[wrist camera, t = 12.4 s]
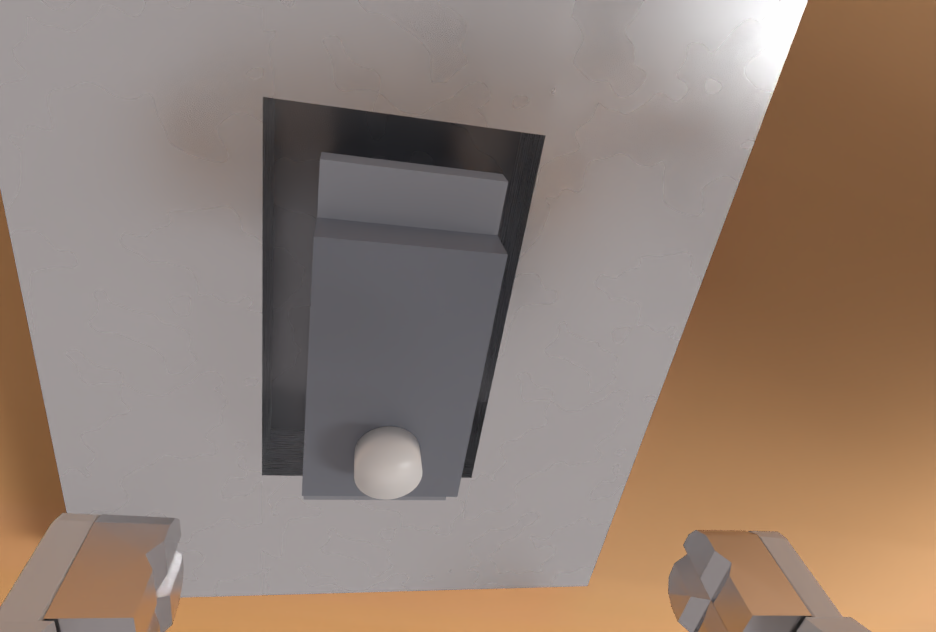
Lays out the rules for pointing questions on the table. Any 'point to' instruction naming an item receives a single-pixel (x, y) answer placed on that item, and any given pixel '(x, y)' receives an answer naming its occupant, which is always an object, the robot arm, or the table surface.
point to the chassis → (291, 254)
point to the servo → (398, 325)
